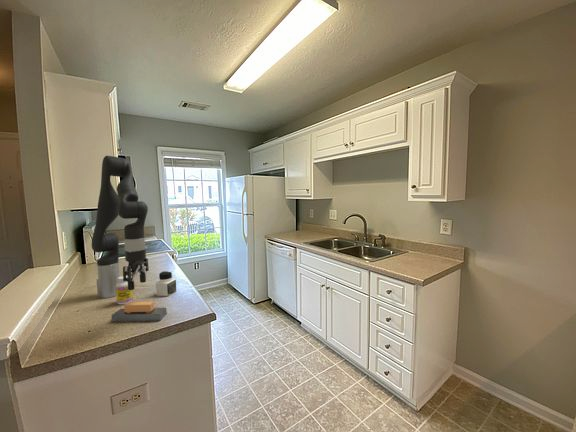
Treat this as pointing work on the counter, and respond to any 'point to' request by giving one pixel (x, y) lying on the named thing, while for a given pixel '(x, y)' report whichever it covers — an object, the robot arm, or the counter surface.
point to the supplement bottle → (123, 292)
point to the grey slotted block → (139, 315)
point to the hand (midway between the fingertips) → (137, 285)
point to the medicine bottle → (165, 284)
